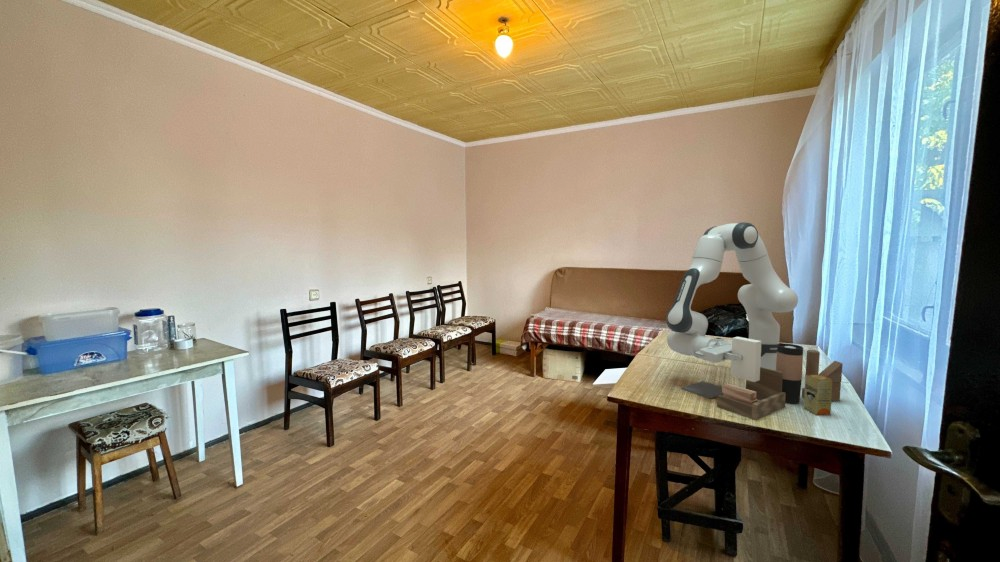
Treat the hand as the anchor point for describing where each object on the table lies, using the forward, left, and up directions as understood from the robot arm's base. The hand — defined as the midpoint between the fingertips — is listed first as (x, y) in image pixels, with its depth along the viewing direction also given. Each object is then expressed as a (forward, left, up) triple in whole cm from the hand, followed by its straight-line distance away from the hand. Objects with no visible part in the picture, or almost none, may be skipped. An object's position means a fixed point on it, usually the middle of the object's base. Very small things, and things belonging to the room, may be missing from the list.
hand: (745, 357), depth 138 cm
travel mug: (-15, +8, -17) cm, 23 cm away
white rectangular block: (0, 0, -8) cm, 8 cm away
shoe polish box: (-12, +18, -17) cm, 27 cm away
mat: (0, -14, -16) cm, 21 cm away
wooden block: (-26, +14, -17) cm, 33 cm away
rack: (+2, +4, -16) cm, 17 cm away
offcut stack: (+9, +3, -17) cm, 19 cm away
